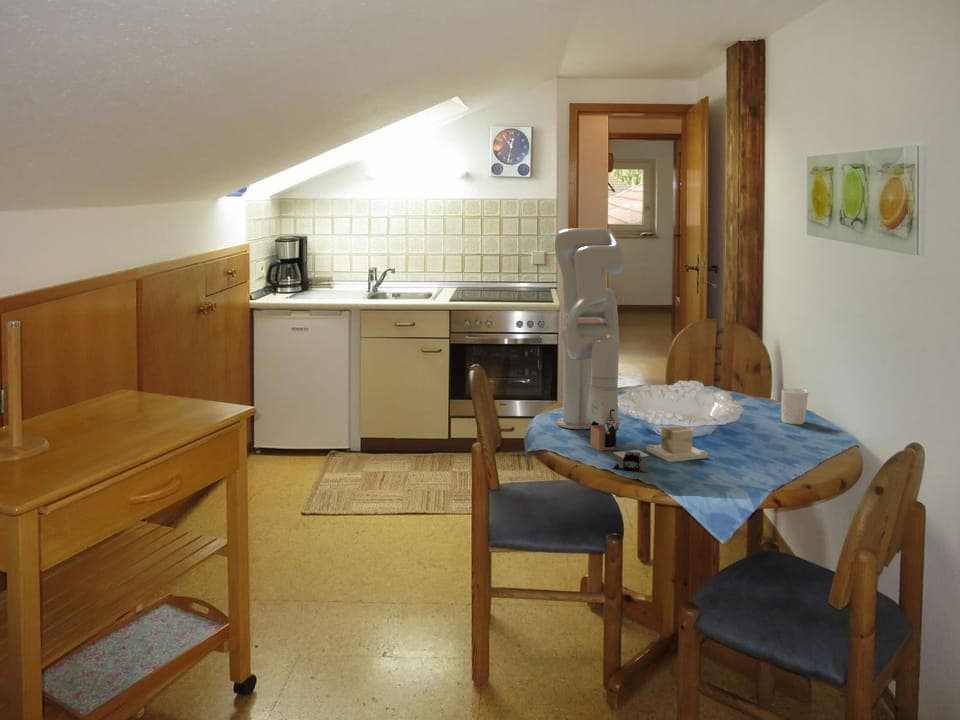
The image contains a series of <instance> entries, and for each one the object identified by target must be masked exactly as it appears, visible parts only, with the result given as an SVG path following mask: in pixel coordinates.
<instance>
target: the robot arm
mask: <svg viewBox="0 0 960 720" xmlns="http://www.w3.org/2000/svg"><path fill="white" fill-rule="evenodd" d="M554 251H555V256H556V260H557V262H558V265H559V268H560V271H561V276H562V294H563V305H564V311H565V314H566V316H567V318H566V319H565V321H566V322H565V326H564V327H563V329H562V330H561V334H560V339H561V346H562V347H561V348H562V356H563V358H562V359H563V360H562V361H563V377H562V379H563V380H562V381H563V383H562V388H563V389H562V408H561V409H560V411H561V412H562V417H560V418H558V419H557V425H558V426H559V427H562V428H565V429H569V430H570V429H572V430H589V440H590V439H591V426H594V425H605V429H606V433H605V447H606V448H609V447H616V445H617V443H616V442H617V433H618V430H619V427H620V425H621V421H620V419H619V399H618V386H619V360H620V359H619V356H620V332H619V329H620V328H619V314H618V302H617V300H618V299H617V296H616V293H615V292H614V291H613V290H612V288H610V287H607V281H606V280H607V279H606V275H618V274H621V272H623V270H624V267H625V256H624V255H625V254H624V251H623V249H622V246H621V244H620V243H619V240H618V239H617V237H616V235H615V234H614V232H613V231H612V230H611V229H610V228H606V227H576V228H575V227H574V228H573V227H572V228H566V229H562V230H560V231H559V232H558V233H556V236H555V240H554ZM578 319H579V320H582V319H584V320H585V319H598V320H600V321H599V322H578ZM608 425H609V426H611V427H610V429H609V426H608Z"/></svg>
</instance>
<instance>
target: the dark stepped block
mask: <svg viewBox="0 0 960 720" xmlns="http://www.w3.org/2000/svg"><path fill="white" fill-rule="evenodd" d="M642 461H643V459H642V457H641V456H640V453H637V452H626V453H625V456H624V458H622V462H623V463H616V464H615V465H614V467H613V468H612V470H614V471H622V472H623V471H624V472H635V473H641V474H642V473H643V474H649V473H650V472H651V471H652V468H653V467H651V466H643V465H642ZM628 462H630V463H628Z"/></svg>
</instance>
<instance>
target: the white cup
mask: <svg viewBox="0 0 960 720" xmlns="http://www.w3.org/2000/svg"><path fill="white" fill-rule="evenodd" d="M808 397H809V391H808V390H807V389H803V388H798V387H797V388H796V387H788V388H787V387H786V388H785V387H784V388H782V389H781V403H780V404H781V407H780V408H781V422H782V423H784V424H789V425H803V424H804V423H805V420H806V413H807V406H808Z"/></svg>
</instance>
